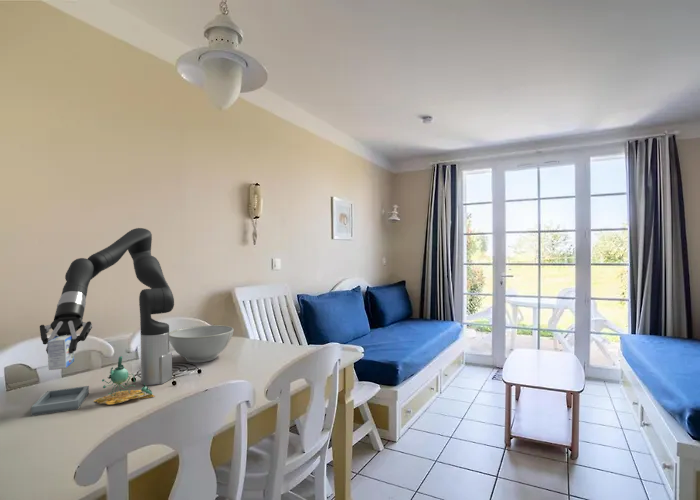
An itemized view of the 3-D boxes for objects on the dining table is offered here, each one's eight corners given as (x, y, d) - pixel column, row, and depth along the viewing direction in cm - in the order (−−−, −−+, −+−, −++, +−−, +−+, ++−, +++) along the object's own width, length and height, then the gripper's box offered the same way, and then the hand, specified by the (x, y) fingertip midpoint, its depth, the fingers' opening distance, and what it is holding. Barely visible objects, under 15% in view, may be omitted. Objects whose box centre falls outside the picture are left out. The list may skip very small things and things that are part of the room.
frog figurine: (144, 406, 114) (137, 357, 114) (84, 414, 114) (77, 365, 114) (159, 394, 123) (154, 348, 123) (104, 401, 123) (98, 356, 123)
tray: (88, 393, 125) (88, 385, 125) (78, 408, 112) (78, 400, 112) (47, 399, 120) (47, 391, 120) (31, 415, 108) (31, 406, 108)
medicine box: (66, 368, 113) (65, 339, 113) (47, 370, 111) (47, 341, 111) (74, 361, 120) (73, 334, 120) (57, 363, 119) (56, 335, 119)
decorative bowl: (246, 355, 170) (246, 328, 170) (193, 371, 148) (193, 340, 148) (208, 348, 185) (208, 323, 185) (154, 361, 162) (154, 333, 162)
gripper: (98, 313, 131) (90, 356, 120) (47, 316, 126) (34, 362, 115) (94, 299, 127) (86, 343, 115) (41, 302, 121) (27, 348, 110)
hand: (60, 352), depth 115 cm, fingers closed on medicine box, 4 cm apart
